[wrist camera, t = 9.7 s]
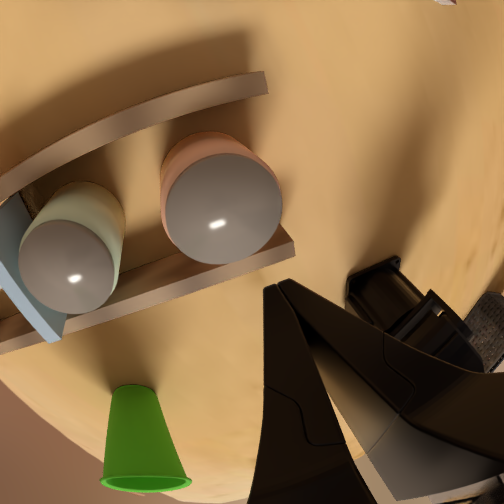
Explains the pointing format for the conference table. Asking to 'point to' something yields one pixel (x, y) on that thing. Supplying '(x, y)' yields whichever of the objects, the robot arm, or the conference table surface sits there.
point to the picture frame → (446, 2)
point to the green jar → (74, 248)
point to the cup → (140, 445)
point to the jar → (218, 198)
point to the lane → (161, 271)
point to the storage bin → (488, 329)
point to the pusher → (8, 275)
